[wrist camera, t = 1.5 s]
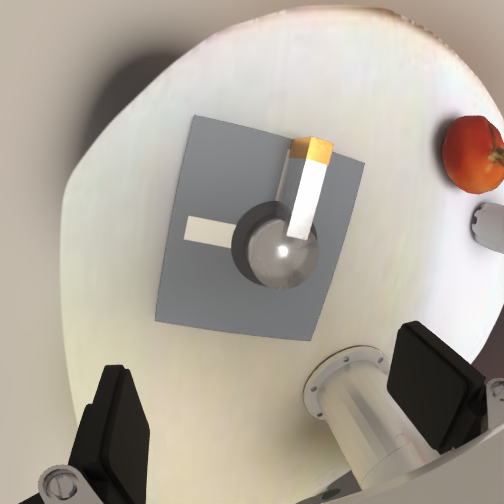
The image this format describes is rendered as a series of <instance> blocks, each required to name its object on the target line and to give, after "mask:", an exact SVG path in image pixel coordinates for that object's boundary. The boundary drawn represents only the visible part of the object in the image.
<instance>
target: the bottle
mask: <svg viewBox="0 0 504 504" xmlns="http://www.w3.org/2000/svg"><path fill="white" fill-rule="evenodd" d="M480 209H481V210H477V211H476V212H475V214H474V216H475V217H476V218H477V223H476V224H472V230H473V231H474V232H475V235H474V237H475V240H476V241H477V242H478V243H479V244H480V245H482V246H484V247H486V248H488V249H490V250H493V251H496V252H500V253H503V254H504V206H502V205H499V204H496V203H484V204H482V205H481V208H480Z"/></svg>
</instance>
